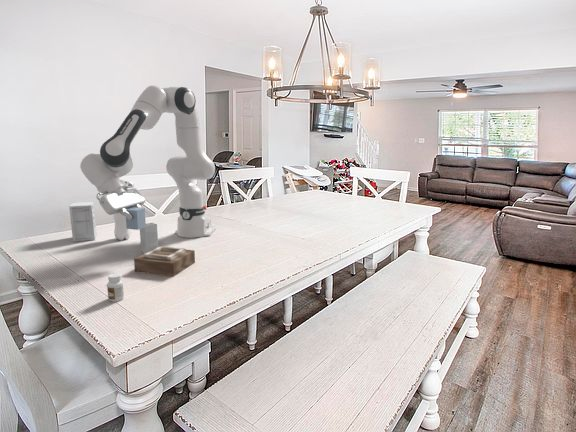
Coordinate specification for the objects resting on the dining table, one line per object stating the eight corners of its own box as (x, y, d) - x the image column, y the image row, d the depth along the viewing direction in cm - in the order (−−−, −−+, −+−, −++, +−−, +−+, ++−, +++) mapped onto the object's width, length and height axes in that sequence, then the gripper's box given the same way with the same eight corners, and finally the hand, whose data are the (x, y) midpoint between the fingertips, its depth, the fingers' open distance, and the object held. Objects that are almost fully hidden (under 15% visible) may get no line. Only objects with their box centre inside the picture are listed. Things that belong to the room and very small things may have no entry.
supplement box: (97, 235, 187) (94, 201, 184) (95, 240, 179) (92, 205, 175) (75, 236, 184) (71, 202, 180) (72, 241, 175) (68, 205, 172)
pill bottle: (105, 299, 117) (103, 275, 116) (119, 294, 121) (117, 271, 119) (112, 303, 115) (111, 279, 113) (126, 298, 118) (125, 275, 116)
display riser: (159, 258, 156) (158, 243, 155) (194, 262, 152) (194, 247, 151) (134, 271, 141) (133, 255, 139) (173, 276, 137) (173, 260, 136)
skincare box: (153, 248, 168) (151, 222, 166) (158, 250, 166) (157, 224, 163) (140, 251, 164) (138, 224, 161) (145, 254, 161) (144, 226, 158)
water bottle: (131, 240, 180) (127, 187, 175) (114, 241, 178) (110, 188, 172) (131, 236, 187) (127, 185, 181) (115, 237, 184) (111, 186, 179)
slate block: (134, 225, 151) (133, 207, 150) (145, 226, 150) (144, 208, 149) (126, 228, 147) (125, 209, 145) (138, 229, 145) (136, 210, 144)
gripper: (98, 188, 137) (124, 217, 136) (134, 181, 156) (156, 206, 156) (89, 199, 139) (114, 228, 138) (125, 191, 158) (147, 216, 158)
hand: (137, 216), depth 147 cm, fingers closed on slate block, 5 cm apart
